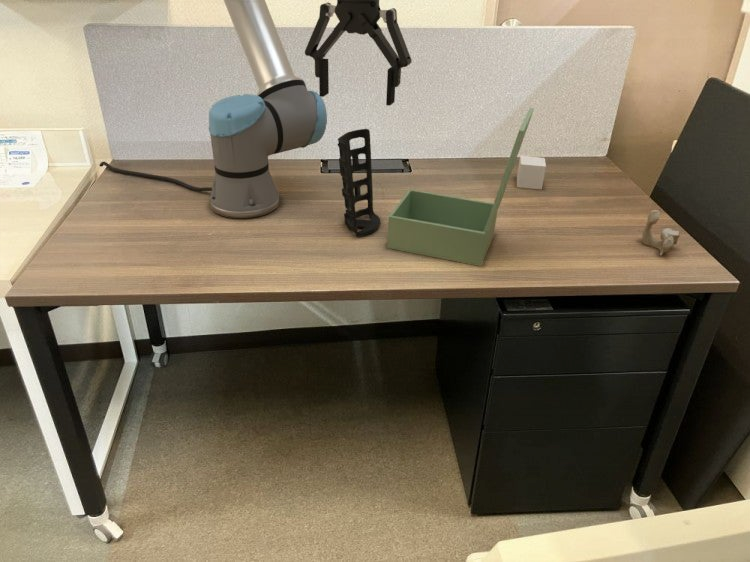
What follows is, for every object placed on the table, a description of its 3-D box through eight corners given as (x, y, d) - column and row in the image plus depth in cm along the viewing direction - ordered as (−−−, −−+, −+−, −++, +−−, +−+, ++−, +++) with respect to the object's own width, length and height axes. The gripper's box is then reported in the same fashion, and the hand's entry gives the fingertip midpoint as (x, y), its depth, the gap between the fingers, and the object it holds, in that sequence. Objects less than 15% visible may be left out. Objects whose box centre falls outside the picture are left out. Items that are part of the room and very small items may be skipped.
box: (387, 248, 122) (388, 216, 118) (407, 218, 133) (409, 189, 129) (481, 266, 116) (485, 233, 113) (494, 234, 128) (498, 204, 124)
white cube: (516, 178, 155) (520, 155, 151) (540, 180, 154) (544, 157, 151) (517, 187, 150) (520, 164, 146) (541, 189, 149) (546, 166, 146)
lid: (519, 129, 101) (523, 131, 101) (530, 107, 112) (534, 108, 112) (484, 231, 112) (488, 232, 112) (497, 201, 124) (500, 202, 124)
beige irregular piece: (696, 251, 120) (683, 213, 116) (667, 268, 121) (653, 230, 116) (670, 234, 128) (657, 197, 123) (643, 250, 129) (629, 213, 124)
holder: (375, 238, 124) (367, 144, 114) (339, 238, 126) (329, 144, 115) (383, 216, 133) (377, 127, 123) (350, 215, 135) (341, 127, 125)
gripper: (283, -28, 104) (289, 96, 116) (422, -17, 98) (413, 113, 109) (302, -31, 110) (305, 86, 122) (433, -22, 104) (424, 102, 115)
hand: (356, 99), depth 116 cm, fingers open, 13 cm apart
